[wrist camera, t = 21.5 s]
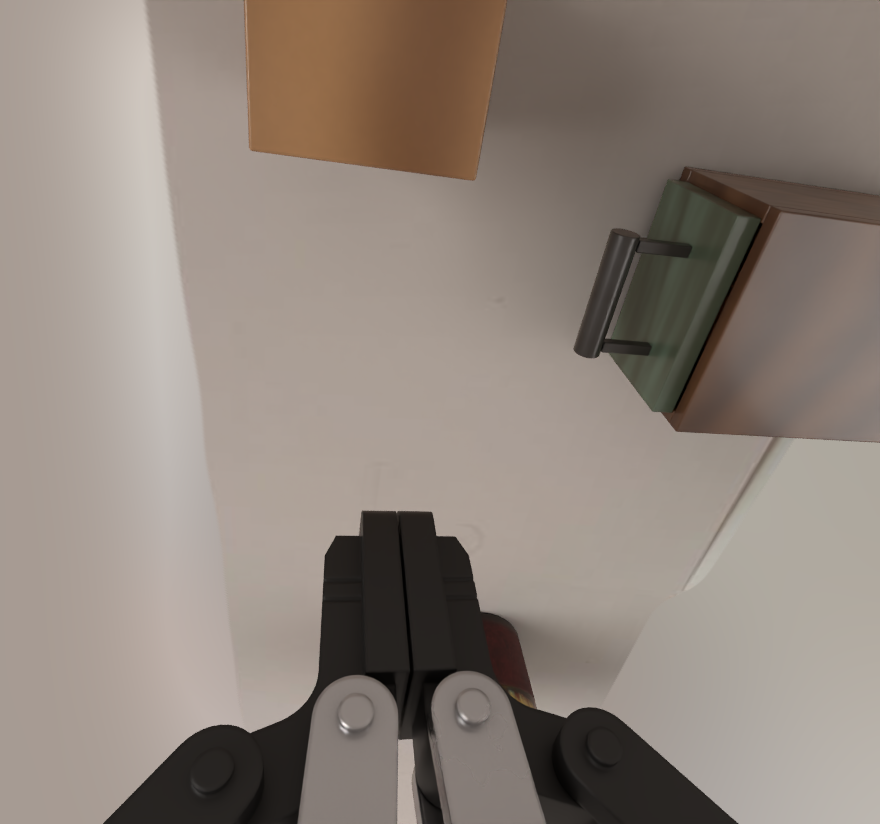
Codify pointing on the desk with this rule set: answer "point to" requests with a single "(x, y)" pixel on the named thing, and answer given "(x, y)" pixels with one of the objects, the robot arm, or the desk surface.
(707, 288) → the drawer
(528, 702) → the vase
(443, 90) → the stand
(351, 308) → the desk surface
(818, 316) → the cabinet
